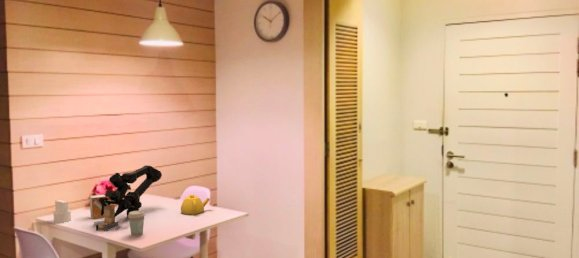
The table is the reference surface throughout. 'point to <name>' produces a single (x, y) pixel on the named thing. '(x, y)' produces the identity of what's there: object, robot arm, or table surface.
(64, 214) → the cylinder with rectangular tab
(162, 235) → the table surface
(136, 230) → the coffee cup
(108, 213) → the tan flared column
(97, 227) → the steel rack
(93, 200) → the small box
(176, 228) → the table surface
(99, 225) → the offcut stack
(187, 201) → the teapot
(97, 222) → the slate mat
